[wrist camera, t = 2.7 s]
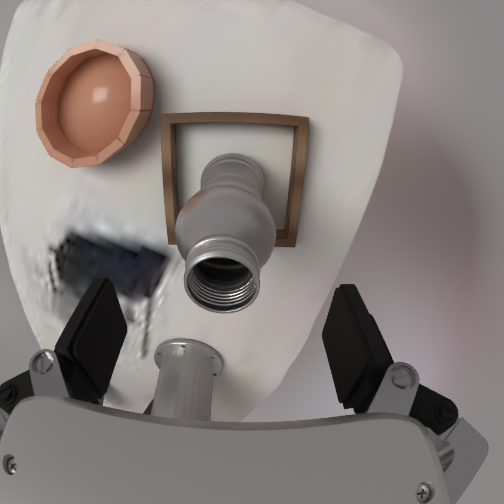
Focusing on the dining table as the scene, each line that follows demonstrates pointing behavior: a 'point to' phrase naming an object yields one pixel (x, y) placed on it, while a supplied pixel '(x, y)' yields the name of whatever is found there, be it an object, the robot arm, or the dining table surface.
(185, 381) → the robot arm
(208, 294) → the grey metal bulbous cylinder
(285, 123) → the brown picture frame
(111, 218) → the dining table surface
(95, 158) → the terracotta bowl
